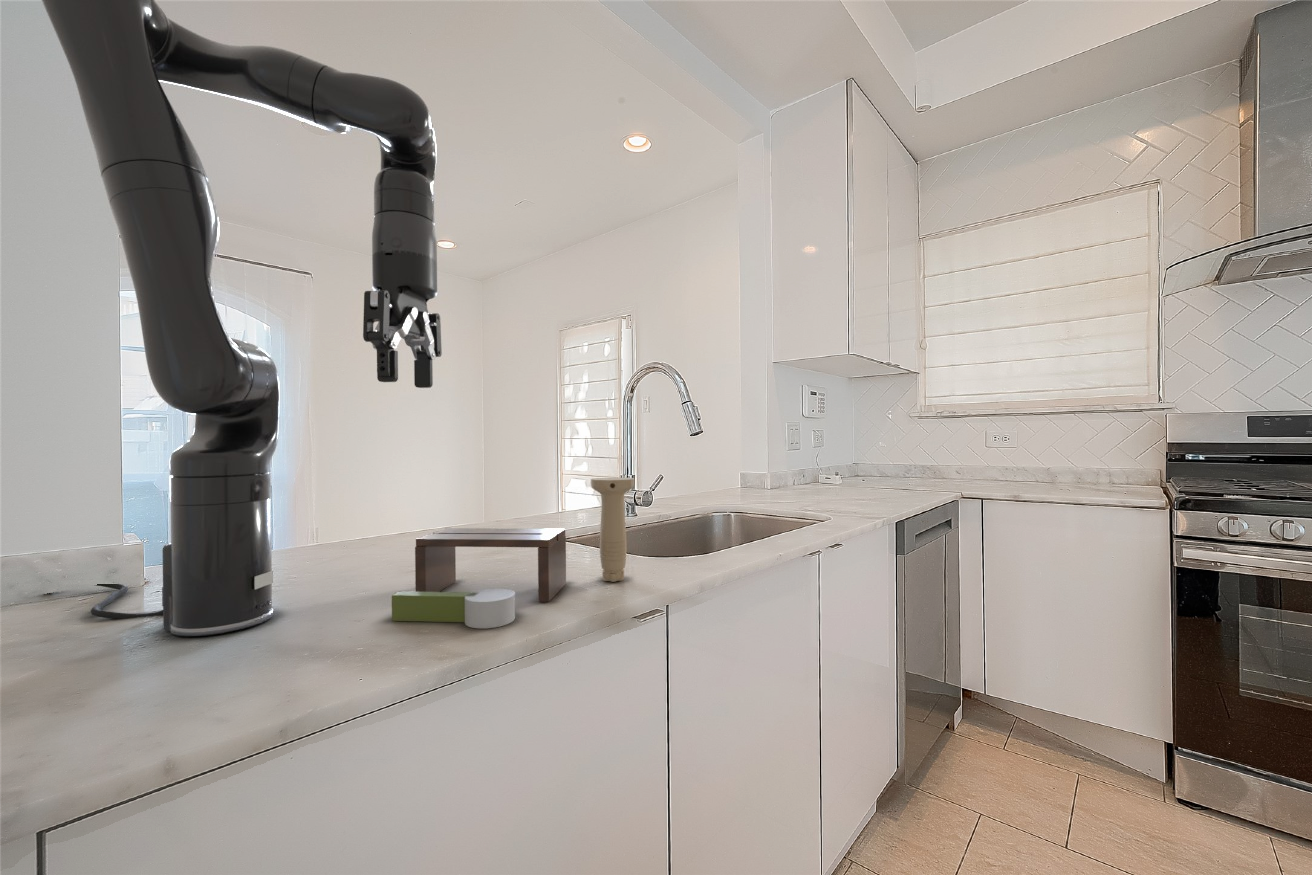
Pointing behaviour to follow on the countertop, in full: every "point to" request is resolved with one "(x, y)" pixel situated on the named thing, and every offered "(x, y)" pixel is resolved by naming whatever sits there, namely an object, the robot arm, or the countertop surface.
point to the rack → (439, 548)
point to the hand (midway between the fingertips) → (406, 385)
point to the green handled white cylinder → (456, 607)
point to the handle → (612, 525)
